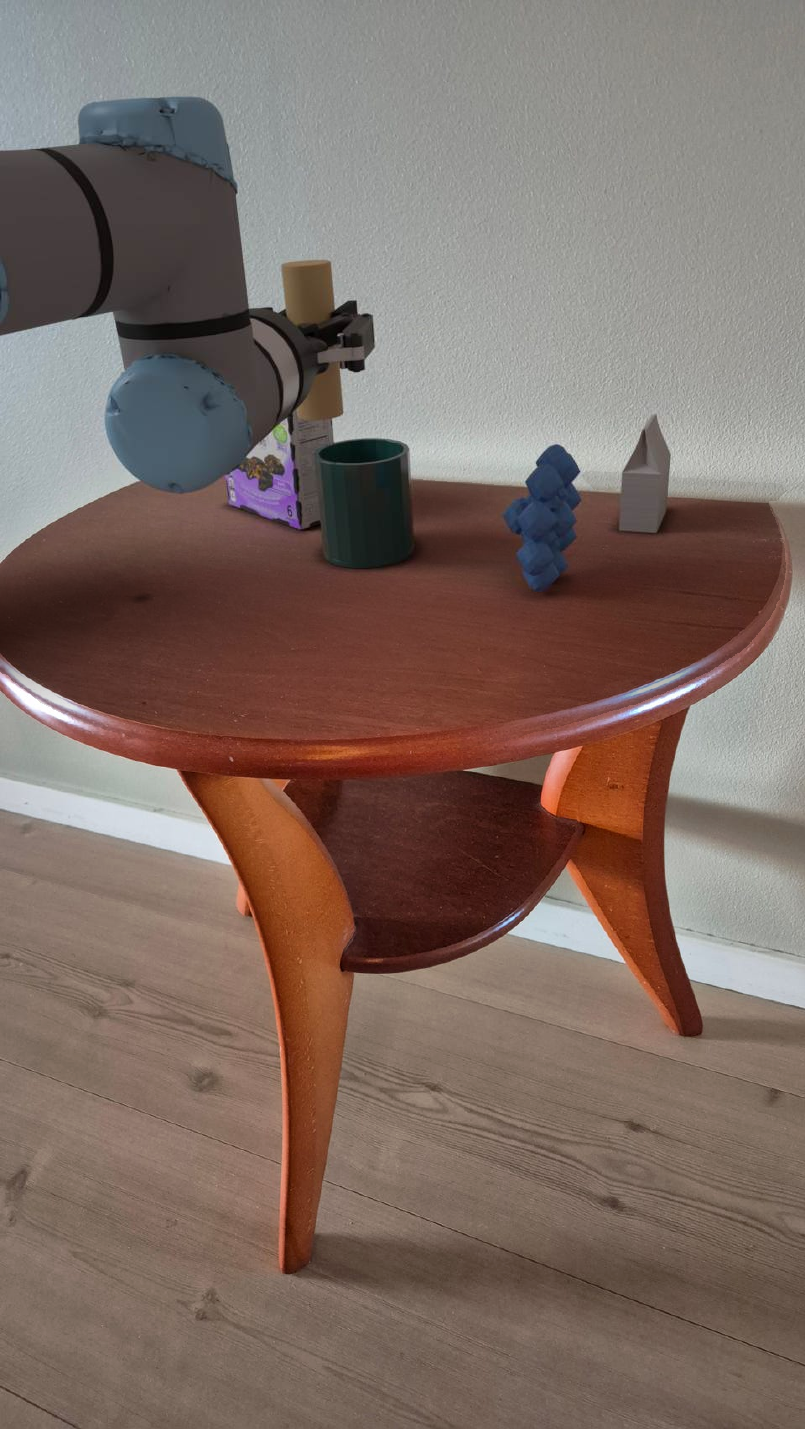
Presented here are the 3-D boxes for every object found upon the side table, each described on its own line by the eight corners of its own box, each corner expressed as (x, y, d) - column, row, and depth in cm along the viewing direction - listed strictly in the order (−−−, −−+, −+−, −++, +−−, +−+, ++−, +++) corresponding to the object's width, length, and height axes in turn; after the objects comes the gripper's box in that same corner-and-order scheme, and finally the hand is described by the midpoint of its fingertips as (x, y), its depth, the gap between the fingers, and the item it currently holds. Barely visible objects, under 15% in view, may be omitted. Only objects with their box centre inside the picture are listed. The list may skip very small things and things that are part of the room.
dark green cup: (314, 568, 95) (303, 465, 90) (334, 535, 103) (325, 438, 98) (406, 568, 94) (400, 464, 89) (420, 535, 101) (415, 437, 96)
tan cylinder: (292, 420, 84) (275, 267, 78) (303, 409, 87) (288, 261, 81) (337, 420, 83) (324, 265, 77) (347, 408, 87) (335, 259, 81)
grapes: (522, 554, 95) (522, 428, 89) (591, 561, 93) (596, 432, 87) (481, 601, 86) (479, 465, 80) (557, 610, 84) (560, 470, 78)
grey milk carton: (666, 511, 103) (674, 414, 98) (656, 533, 98) (664, 431, 93) (630, 508, 105) (636, 412, 100) (618, 530, 99) (624, 430, 94)
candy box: (226, 505, 113) (204, 355, 105) (268, 493, 117) (250, 346, 108) (300, 531, 104) (282, 369, 96) (343, 517, 107) (329, 359, 99)
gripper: (139, 432, 70) (240, 365, 90) (375, 429, 67) (425, 360, 87) (118, 320, 66) (228, 275, 86) (367, 311, 63) (421, 267, 83)
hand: (327, 318), depth 86 cm, fingers closed on tan cylinder, 4 cm apart
